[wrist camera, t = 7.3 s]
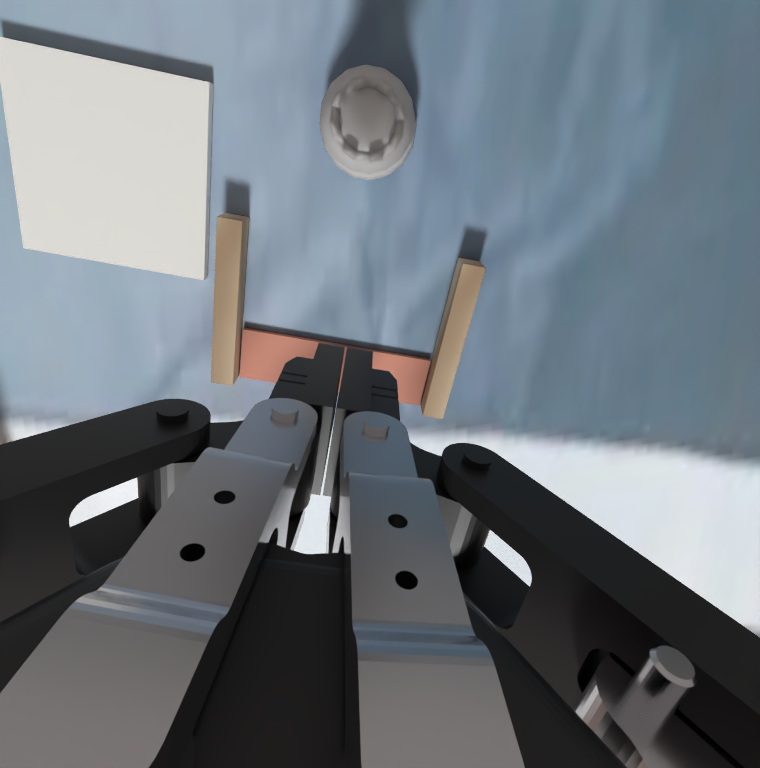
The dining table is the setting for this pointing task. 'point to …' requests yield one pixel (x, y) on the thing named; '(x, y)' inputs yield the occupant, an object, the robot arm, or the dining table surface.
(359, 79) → the rook chess piece
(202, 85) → the tile
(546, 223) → the dining table surface
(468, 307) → the wooden u-shaped frame
